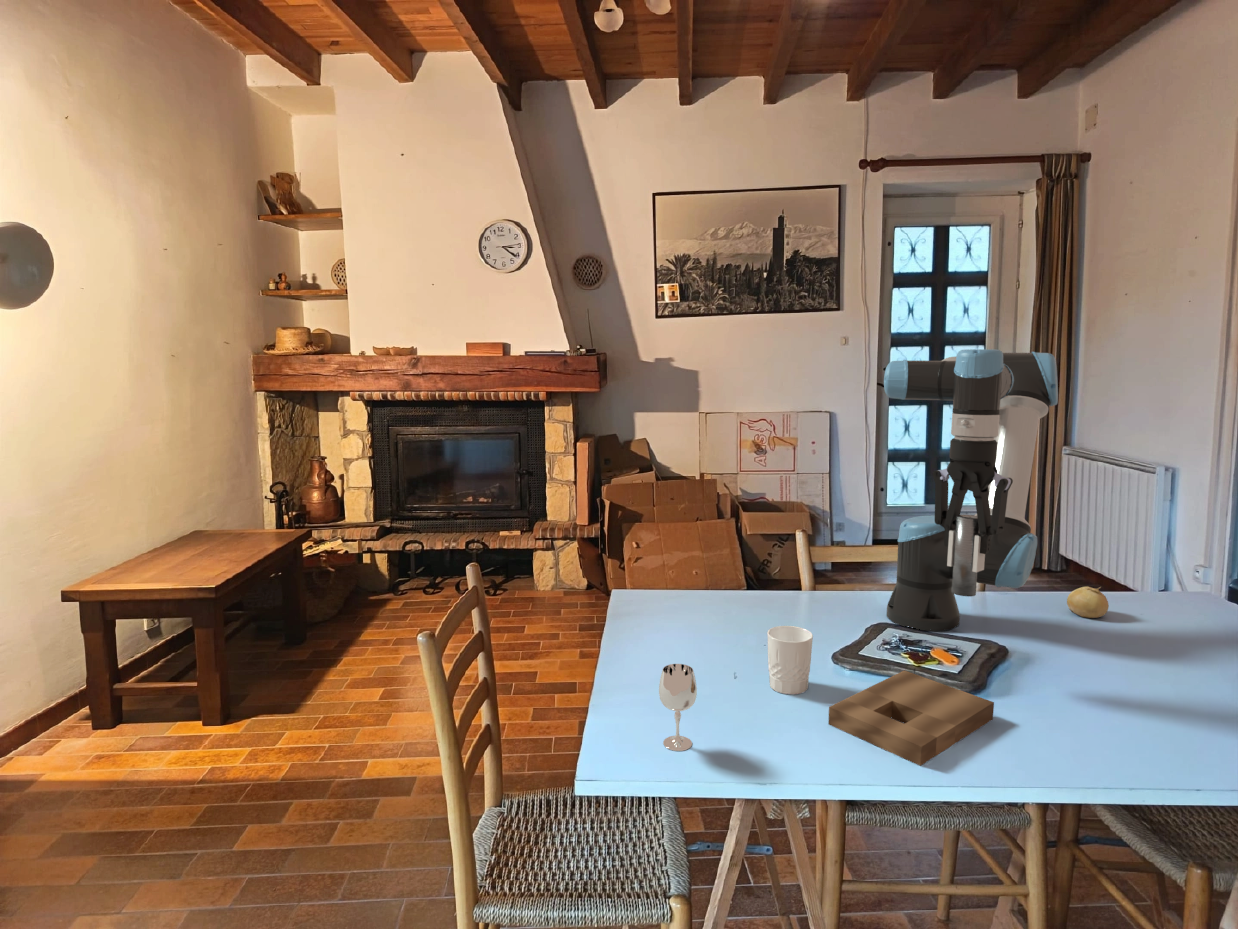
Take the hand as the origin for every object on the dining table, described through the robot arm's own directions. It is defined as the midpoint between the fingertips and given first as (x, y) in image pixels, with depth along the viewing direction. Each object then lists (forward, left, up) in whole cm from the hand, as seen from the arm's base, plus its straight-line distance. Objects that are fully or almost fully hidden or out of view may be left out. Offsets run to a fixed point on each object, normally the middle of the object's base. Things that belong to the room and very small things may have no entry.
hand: (965, 567), depth 136 cm
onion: (+1, +54, -21) cm, 58 cm away
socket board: (+3, -22, -21) cm, 30 cm away
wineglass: (-16, -56, -21) cm, 62 cm away
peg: (0, 0, -5) cm, 5 cm away
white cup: (-18, -27, -21) cm, 38 cm away
